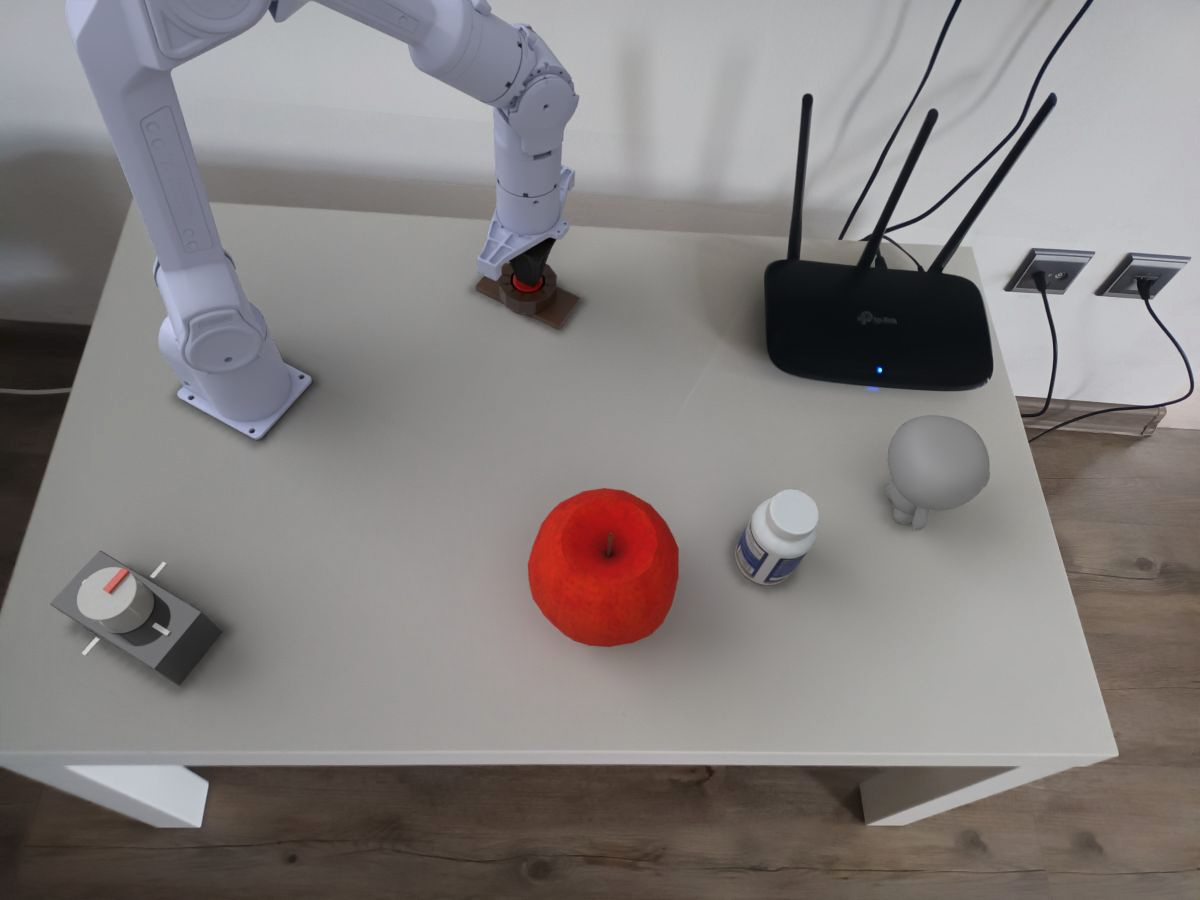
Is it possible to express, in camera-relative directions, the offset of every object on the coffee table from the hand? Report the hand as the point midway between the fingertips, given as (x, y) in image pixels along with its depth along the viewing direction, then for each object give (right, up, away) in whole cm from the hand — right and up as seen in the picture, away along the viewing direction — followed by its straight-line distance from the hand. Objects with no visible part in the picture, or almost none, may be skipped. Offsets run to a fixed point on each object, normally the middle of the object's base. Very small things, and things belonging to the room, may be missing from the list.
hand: (528, 279), depth 83 cm
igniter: (0, -1, +2) cm, 2 cm away
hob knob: (-28, -29, -22) cm, 46 cm away
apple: (+7, -30, -14) cm, 34 cm away
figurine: (+35, -23, -7) cm, 42 cm away
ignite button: (0, -1, +1) cm, 2 cm away
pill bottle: (+22, -27, -10) cm, 36 cm away
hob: (-28, -32, -18) cm, 46 cm away
